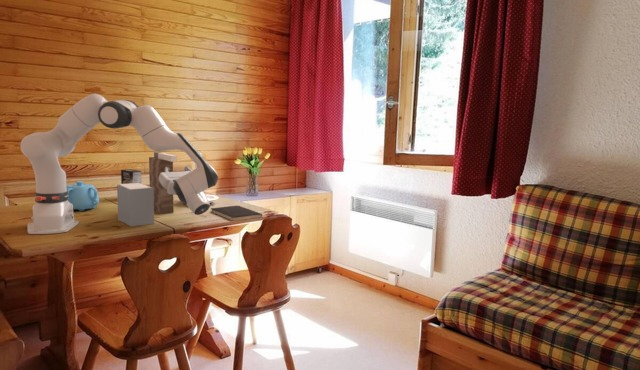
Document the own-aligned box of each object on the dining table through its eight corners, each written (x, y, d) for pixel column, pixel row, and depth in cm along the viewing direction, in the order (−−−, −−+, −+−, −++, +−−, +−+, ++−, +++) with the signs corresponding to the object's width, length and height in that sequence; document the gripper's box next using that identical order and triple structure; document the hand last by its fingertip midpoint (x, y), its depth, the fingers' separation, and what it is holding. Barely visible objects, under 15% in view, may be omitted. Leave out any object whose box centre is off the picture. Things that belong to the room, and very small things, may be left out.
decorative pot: (60, 213, 220) (58, 184, 217) (63, 206, 234) (61, 179, 232) (98, 211, 226) (97, 183, 224) (99, 204, 241) (98, 178, 239)
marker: (176, 161, 217) (176, 155, 217) (171, 161, 216) (171, 155, 215) (159, 157, 232) (159, 152, 232) (154, 157, 230) (153, 152, 230)
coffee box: (121, 199, 258) (120, 169, 256) (130, 197, 264) (130, 168, 261) (132, 200, 254) (132, 171, 251) (142, 199, 259) (141, 170, 257)
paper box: (154, 223, 206) (153, 187, 203) (130, 226, 199) (129, 189, 197) (140, 216, 218) (139, 182, 215) (118, 219, 211) (117, 184, 209)
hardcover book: (232, 222, 216) (232, 217, 216) (210, 212, 234) (210, 208, 234) (262, 218, 226) (262, 213, 226) (239, 209, 244) (239, 205, 243)
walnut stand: (173, 212, 228) (172, 159, 224) (161, 214, 224) (160, 160, 220) (161, 207, 239) (160, 156, 235) (150, 209, 235) (149, 157, 231)
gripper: (211, 179, 212) (199, 161, 220) (167, 182, 199) (156, 163, 206) (207, 190, 215) (195, 172, 223) (164, 194, 202) (153, 174, 210)
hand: (176, 168), depth 215 cm, fingers open, 8 cm apart
